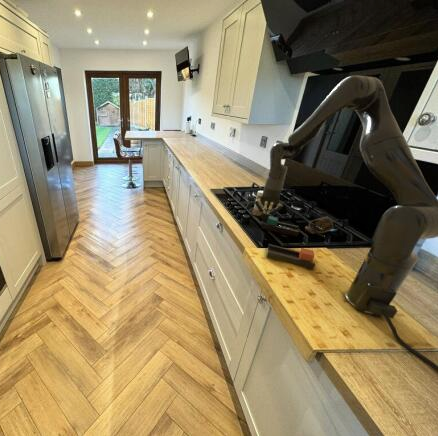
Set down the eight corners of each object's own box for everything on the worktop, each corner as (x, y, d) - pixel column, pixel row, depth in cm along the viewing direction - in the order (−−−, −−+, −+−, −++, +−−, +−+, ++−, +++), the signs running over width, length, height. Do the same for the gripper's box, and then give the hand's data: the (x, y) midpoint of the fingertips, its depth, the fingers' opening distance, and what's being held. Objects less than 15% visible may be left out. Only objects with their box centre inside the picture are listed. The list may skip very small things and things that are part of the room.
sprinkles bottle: (258, 212, 134) (264, 190, 128) (262, 216, 130) (268, 193, 124) (250, 212, 134) (256, 190, 128) (254, 216, 130) (260, 193, 124)
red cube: (311, 263, 88) (314, 255, 87) (299, 260, 90) (302, 252, 88) (310, 258, 91) (313, 250, 90) (298, 255, 93) (301, 247, 92)
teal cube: (275, 227, 114) (277, 220, 113) (266, 225, 116) (268, 218, 114) (275, 224, 118) (277, 217, 116) (267, 222, 119) (269, 215, 118)
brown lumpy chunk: (342, 227, 109) (330, 214, 117) (316, 223, 108) (305, 210, 116) (333, 238, 113) (322, 225, 121) (307, 235, 113) (298, 222, 121)
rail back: (297, 237, 110) (299, 232, 109) (260, 228, 117) (262, 223, 115) (296, 231, 115) (298, 226, 114) (261, 223, 122) (263, 218, 121)
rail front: (312, 270, 88) (315, 264, 86) (266, 257, 94) (268, 251, 93) (311, 260, 93) (313, 255, 92) (267, 249, 100) (268, 243, 98)
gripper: (257, 186, 109) (249, 219, 117) (289, 191, 104) (278, 226, 112) (258, 182, 115) (250, 214, 123) (289, 187, 110) (278, 220, 118)
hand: (264, 220), depth 117 cm, fingers closed
